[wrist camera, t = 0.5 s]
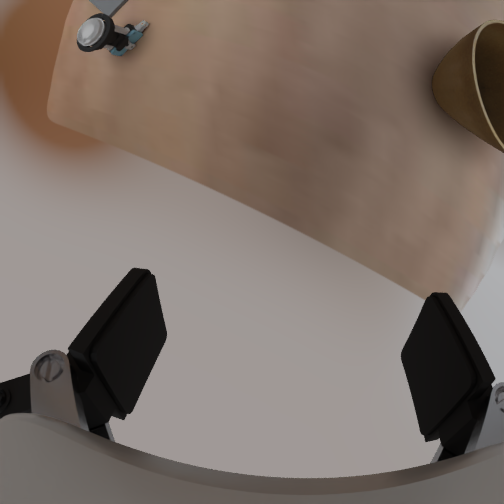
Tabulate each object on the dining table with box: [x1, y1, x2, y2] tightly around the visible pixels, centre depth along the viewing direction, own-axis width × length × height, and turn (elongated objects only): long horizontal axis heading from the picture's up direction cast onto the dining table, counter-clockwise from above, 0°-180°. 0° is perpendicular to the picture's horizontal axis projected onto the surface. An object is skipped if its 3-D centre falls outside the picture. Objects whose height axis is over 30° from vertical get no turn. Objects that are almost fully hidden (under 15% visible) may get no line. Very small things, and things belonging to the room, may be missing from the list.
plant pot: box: [432, 20, 504, 153], centre depth 19 cm, size 15×15×16 cm
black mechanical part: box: [77, 13, 149, 56], centre depth 23 cm, size 7×5×10 cm
